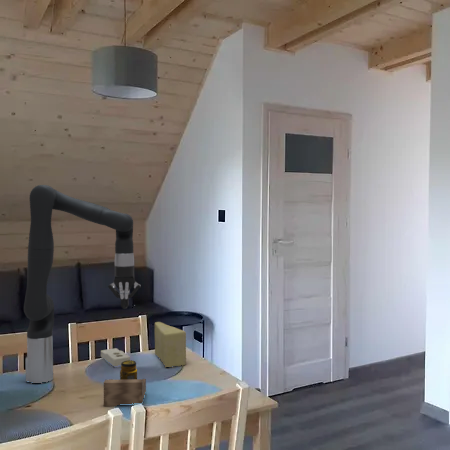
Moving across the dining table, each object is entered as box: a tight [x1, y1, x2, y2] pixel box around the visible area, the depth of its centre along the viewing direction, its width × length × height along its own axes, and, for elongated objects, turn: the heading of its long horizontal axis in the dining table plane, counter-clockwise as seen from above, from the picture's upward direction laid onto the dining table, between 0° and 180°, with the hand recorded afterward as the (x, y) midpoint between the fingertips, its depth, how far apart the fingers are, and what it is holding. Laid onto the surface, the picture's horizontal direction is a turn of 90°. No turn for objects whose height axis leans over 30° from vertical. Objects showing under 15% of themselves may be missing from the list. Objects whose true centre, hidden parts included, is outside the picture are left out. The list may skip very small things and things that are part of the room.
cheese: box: [154, 321, 187, 368], centre depth 222 cm, size 22×10×15 cm, turn 30°
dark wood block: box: [103, 378, 147, 407], centre depth 178 cm, size 13×10×8 cm
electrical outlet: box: [100, 347, 131, 366], centre depth 221 cm, size 7×4×18 cm
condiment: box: [119, 359, 138, 380], centre depth 181 cm, size 7×8×12 cm
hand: (124, 308), depth 201 cm, fingers closed
